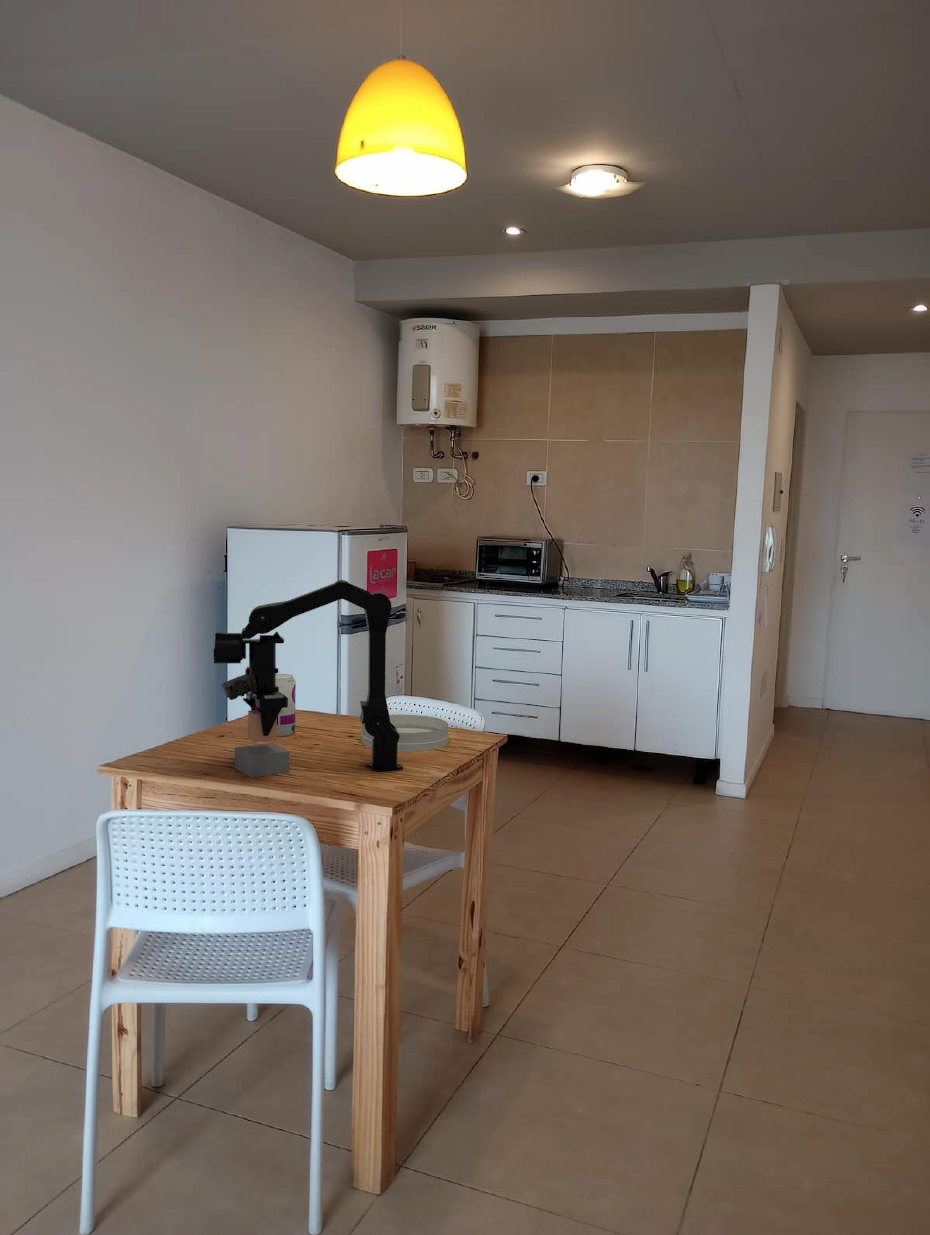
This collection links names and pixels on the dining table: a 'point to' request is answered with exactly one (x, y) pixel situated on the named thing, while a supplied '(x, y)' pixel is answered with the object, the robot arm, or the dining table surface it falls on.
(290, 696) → the supplement can
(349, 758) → the dining table surface
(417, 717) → the dish
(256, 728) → the terracotta block
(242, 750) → the grey base block
